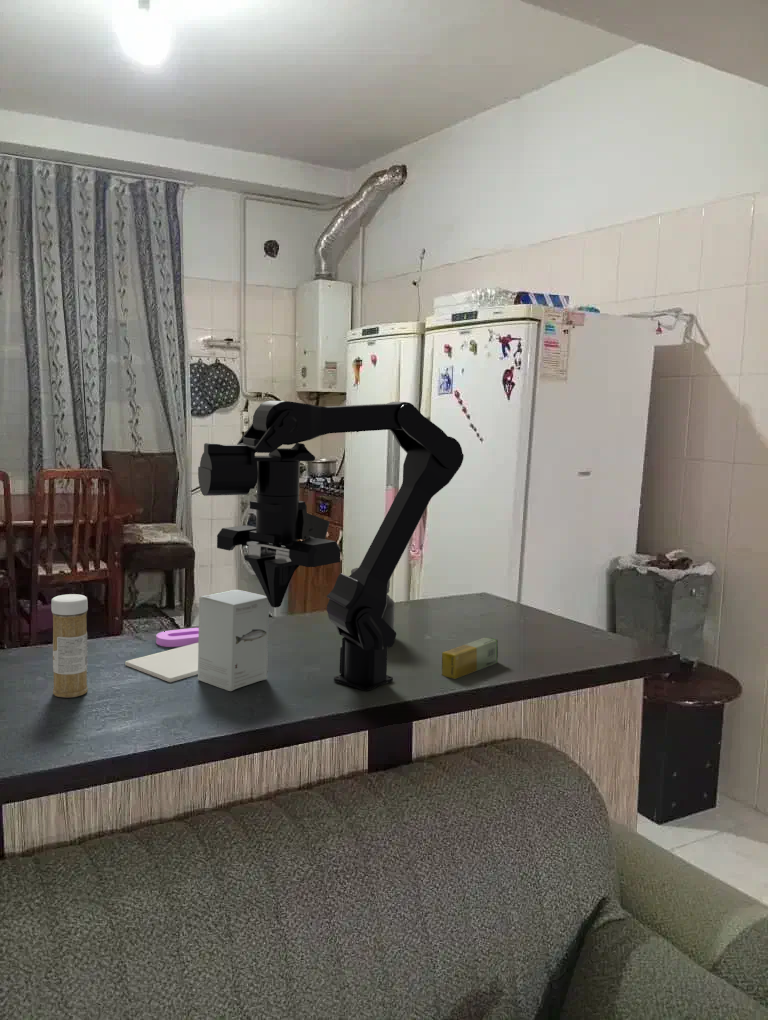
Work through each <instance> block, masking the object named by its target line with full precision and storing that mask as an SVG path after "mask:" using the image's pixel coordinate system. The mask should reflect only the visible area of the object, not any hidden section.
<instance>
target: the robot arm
mask: <svg viewBox="0 0 768 1020" xmlns="http://www.w3.org/2000/svg"><path fill="white" fill-rule="evenodd" d="M385 430H387V431H388V430H389V431H390V432H391V433H392V435H393V436H394V439H395V440H396V442H397V444H398V445H399V447H400V448H401V449H403V451H404V452H405V453H406V455H405V457H404V461H403V465H402V466H403V468H402V483H401V486H400V487H399V489H398V492H397V494H396V496H395V497H394V499H393V501H392V503H391V505H390V507H389V509H388V511H387V513H386V515H385V517H384V518H383V520H382V523H381V524H380V526H379V529H377V532H376V534H375V536H374V538H373V540H372V541H371V544H370V546H369V547H368V549H367V551H366V553H365V555H364V557H363V559H362V561H361V563H360V565H359V566H358V567H357V568H358V569H357V570H356V571H355V572H354V573H352V574H351V573H350V575H347V574H345V573H342V572H340V573H339V574H338V576H337V578H336V581H335V584H334V586H333V588H332V590H331V591H330V592H329V593H328V594H327V595H326V598H327V599H329V600H328V602H327V605H326V612H327V616H328V619H329V621H330V622H331V623H332V624H333V625H334V626H335V627H336V630H337V634H338V635H340V636H342V637H341V638H342V639H341V646H340V648H339V675H336V676H333V681H334V682H337V683H341V684H343V685H347V686H349V687H353V688H357V689H358V690H362V691H370V690H372V689H375V688H377V687H381V686H383V685H385V684H388V683H390V682H393V681H394V677H393V676H390V675H388V674H387V673H388V650H389V649H388V648H392V647H393V646H394V643H395V640H396V636H397V632H396V631H395V629H394V630H393V629H392V628H391V627H390V626H389V625H388V624H387V623H386V622H385V621H384V620H383V619H382V617H383V614H384V611H385V608H386V605H387V595H388V593H387V587H388V582H389V580H390V581H391V578H392V576H393V574H394V572H395V569H396V568H397V567H398V564H399V563H400V560H401V558H402V556H403V554H404V552H405V551H406V548H407V546H408V545H409V543H410V541H411V538H412V537H413V534H414V533H415V531H416V529H417V527H418V526H419V523H420V521H421V519H422V518H423V515H424V513H425V511H426V509H427V507H428V505H429V503H430V502H431V500H432V498H433V497H434V496H435V495H437V494H438V493H439V492H440V491H441V490H442V489H444V488H445V487H447V485H449V484H450V482H451V481H452V480H453V478H454V477H455V475H456V474H457V472H458V471H459V470H460V468H461V466H462V464H463V461H464V459H465V458H464V457H465V455H464V452H463V449H462V446H461V444H460V441H458V440H457V439H456V438H454V437H452V436H449V435H447V434H446V432H445V431H444V430H443V429H442V428H441V427H439V426H438V425H436V424H435V423H434V422H432V421H431V420H430V419H428V418H427V417H426V416H425V415H424V414H422V413H421V411H419V410H418V408H417V407H416V406H414V404H412V403H411V402H407V401H390V402H388V403H376V404H375V403H374V404H371V403H370V404H353V405H352V404H351V405H333V406H332V405H329V406H328V405H327V406H321V405H315V404H310V403H301V402H298V401H297V402H295V401H287V400H286V401H285V400H283V401H282V400H268V401H264V402H261V403H260V405H259V406H258V407H257V408H255V411H254V413H253V416H252V423H251V424H250V426H249V427H248V428H247V430H246V431H245V432H244V433H243V435H242V437H241V438H240V439H239V441H238V442H237V444H221V443H216V442H215V443H214V442H205V443H204V444H203V452H202V455H201V458H200V461H199V462H200V463H199V466H198V467H197V468H198V469H197V470H198V471H197V475H198V477H197V478H198V484H199V485H198V486H199V489H200V490H199V491H200V492H201V494H202V496H204V497H209V496H217V497H218V496H247V495H249V493H250V491H251V490H253V489H254V490H255V487H256V500H250V501H249V509H250V510H255V513H256V514H255V515H256V516H255V517H256V518H255V519H256V520H255V526H251V525H246V524H245V525H237V526H229V527H228V526H227V527H222V528H221V529H220V531H219V532H218V534H217V535H216V543H217V544H216V548H217V549H219V550H220V549H221V550H224V551H225V550H226V551H229V552H230V551H233V550H234V549H235V548H236V547H238V546H246V547H248V548H247V549H248V554H247V555H244V556H243V559H244V561H247V562H248V564H249V565H250V567H251V569H252V570H253V572H254V574H255V576H256V577H257V580H258V582H259V584H260V585H261V588H262V590H263V592H264V595H265V596H266V597H267V599H268V601H269V606H270V607H272V608H280V607H281V605H282V603H283V600H284V598H285V595H286V592H287V591H288V587H289V584H290V582H291V579H292V577H293V575H294V574H295V571H296V570H297V569H298V568H299V567H300V566H301V567H306V568H316V567H321V566H327V565H331V564H337V563H341V551H342V550H341V547H340V545H339V543H338V542H337V541H336V540H330V539H326V538H327V535H328V531H329V527H330V523H331V522H330V521H329V520H326V519H324V518H321V517H319V516H317V515H314V514H312V513H311V514H310V513H308V512H307V509H308V508H307V503H306V501H302V500H300V478H301V477H300V472H301V471H300V470H301V466H300V465H301V462H314V461H315V460H316V456H315V455H314V454H312V452H311V451H310V450H308V449H307V446H306V445H305V444H304V443H302V442H307V441H311V440H313V439H316V438H318V437H321V436H325V435H329V434H339V433H340V434H341V433H356V432H375V431H385ZM282 445H283V446H285V445H286V446H289V445H290V446H291V445H293V446H292V447H291V448H290V447H289V448H282ZM280 447H281V448H280ZM257 453H258V454H263V453H264V454H265V453H267V454H268V455H256V454H257Z"/></svg>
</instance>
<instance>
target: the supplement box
mask: <svg viewBox="0 0 768 1020" xmlns="http://www.w3.org/2000/svg"><path fill="white" fill-rule="evenodd" d="M269 614H270V603H269V601H268V599H267V597H266V595H265V594H264V595H263V594H259V593H255V592H250V591H245V590H242V589H241V590H240V589H231V590H226V591H223V592H221V591H220V592H217V593H211V594H207V595H201V596H199V597H198V627H199V638H198V674H197V680H198V681H200V682H203V683H205V684H209V685H211V686H214V687H217V688H218V689H219V688H220V689H222V690H225V691H227V692H233V691H235V690H237V689H240V688H242V687H245V686H248V685H252V684H255V683H257V682H260V681H265V680H267V679H268V658H269V656H268V654H269V621H270V620H269V619H270V618H269V617H270V615H269Z"/></svg>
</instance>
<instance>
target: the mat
mask: <svg viewBox="0 0 768 1020" xmlns="http://www.w3.org/2000/svg"><path fill="white" fill-rule="evenodd" d="M124 663H125V666H127V667H130V668H132V669H135V670H137V671H139V672H142V673H145V674H148V675H149V676H153V677H155V678H158V679H161V680H163V681H166V682H168V683H173V682H176V681H180V680H182V679H187V678H189V677H193V676H196V675H197V676H198V643H195V644H191V645H187V646H178V647H174V648H172V649H169V650H164V651H160V652H159V651H158V652H157V653H152V654H148V655H145V656H140V657H136V658H133V659H129V660H126V661H125V662H124Z"/></svg>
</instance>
